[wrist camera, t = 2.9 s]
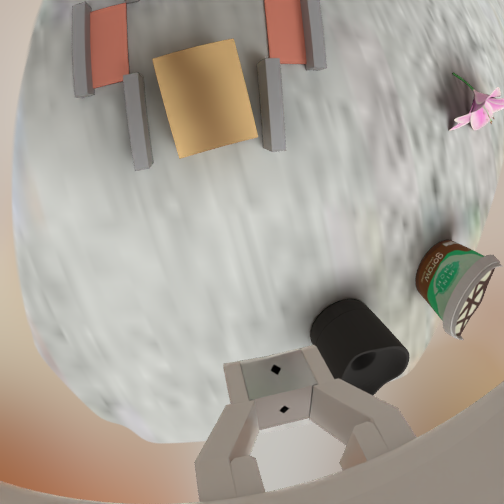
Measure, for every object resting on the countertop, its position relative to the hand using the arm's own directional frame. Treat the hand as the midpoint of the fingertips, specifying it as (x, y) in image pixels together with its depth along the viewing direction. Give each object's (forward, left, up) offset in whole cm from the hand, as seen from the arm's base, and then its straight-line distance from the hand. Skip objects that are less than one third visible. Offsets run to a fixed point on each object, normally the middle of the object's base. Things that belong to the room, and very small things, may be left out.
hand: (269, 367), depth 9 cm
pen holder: (-14, +19, -21) cm, 32 cm away
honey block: (0, -9, -21) cm, 23 cm away
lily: (-31, -10, -21) cm, 39 cm away
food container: (-28, +13, -21) cm, 37 cm away
